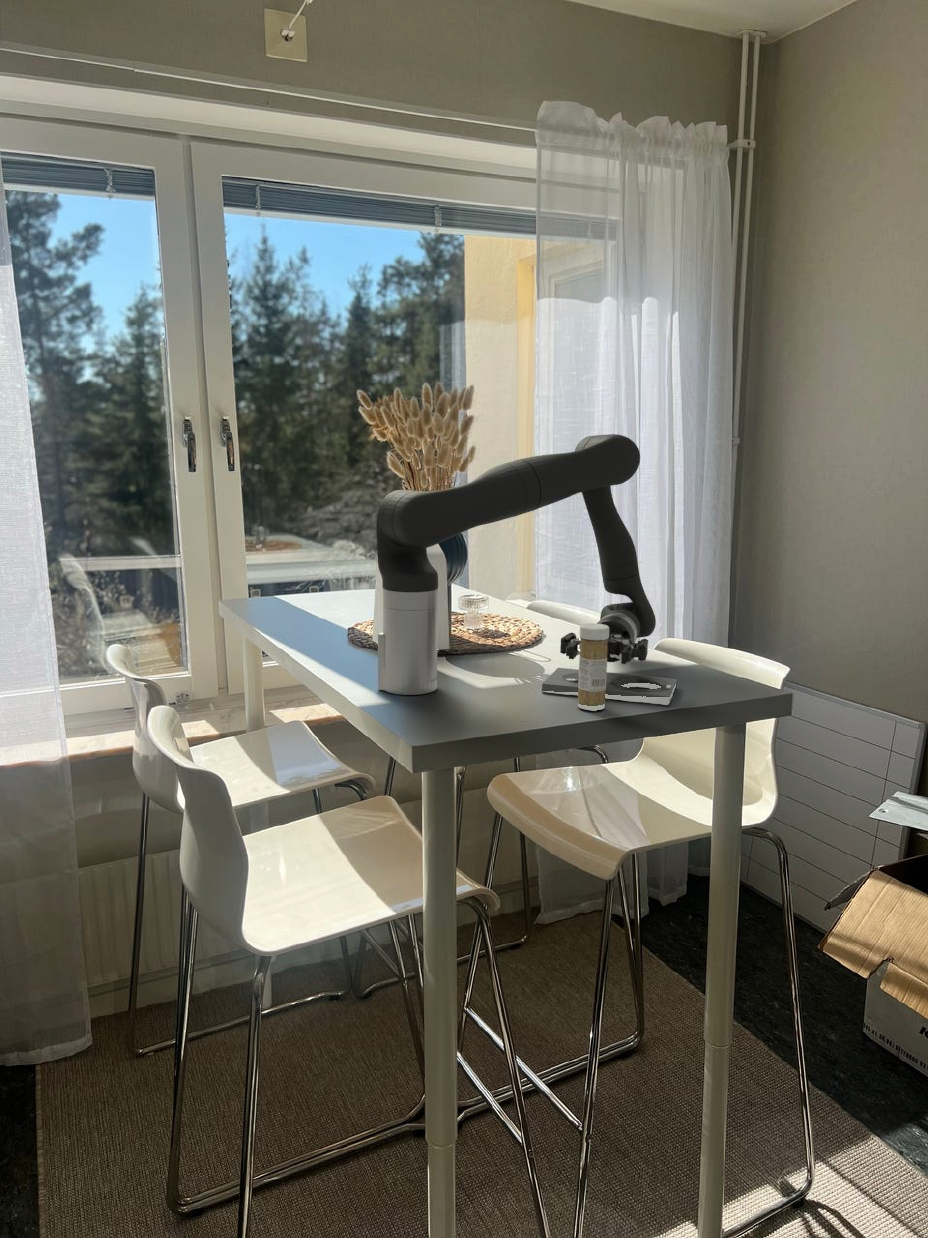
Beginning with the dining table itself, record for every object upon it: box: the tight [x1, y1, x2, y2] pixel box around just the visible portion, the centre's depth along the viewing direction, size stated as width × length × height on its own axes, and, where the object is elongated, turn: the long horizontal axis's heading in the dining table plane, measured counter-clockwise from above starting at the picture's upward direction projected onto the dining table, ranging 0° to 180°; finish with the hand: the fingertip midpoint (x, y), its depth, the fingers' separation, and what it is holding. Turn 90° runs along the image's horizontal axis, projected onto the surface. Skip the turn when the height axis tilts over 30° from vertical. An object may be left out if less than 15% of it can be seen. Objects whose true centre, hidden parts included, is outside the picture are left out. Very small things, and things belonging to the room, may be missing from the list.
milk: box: [371, 543, 450, 650], centre depth 183 cm, size 12×12×26 cm
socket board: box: [541, 667, 678, 697], centre depth 155 cm, size 21×12×2 cm, turn 71°
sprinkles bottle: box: [577, 622, 609, 706], centre depth 143 cm, size 5×5×14 cm
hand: (597, 655), depth 146 cm, fingers open, 8 cm apart
